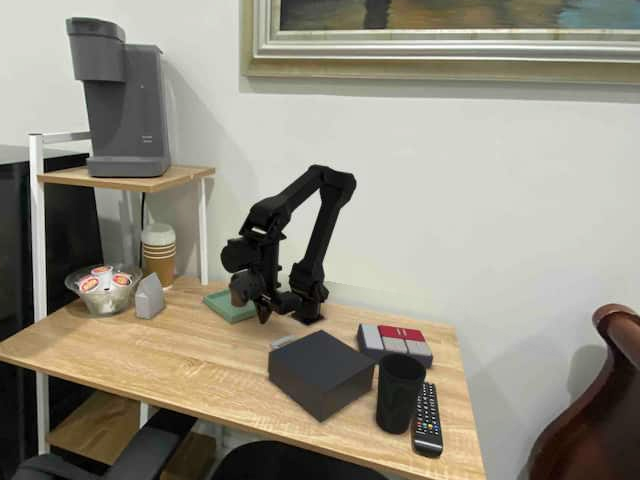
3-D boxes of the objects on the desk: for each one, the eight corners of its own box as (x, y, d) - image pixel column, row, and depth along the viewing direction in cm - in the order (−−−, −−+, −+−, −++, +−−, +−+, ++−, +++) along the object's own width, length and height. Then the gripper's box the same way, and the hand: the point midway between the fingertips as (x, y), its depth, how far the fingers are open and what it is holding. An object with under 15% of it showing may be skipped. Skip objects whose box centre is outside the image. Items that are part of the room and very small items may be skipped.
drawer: (255, 361, 83) (255, 342, 81) (300, 341, 91) (302, 323, 89) (314, 409, 70) (316, 388, 69) (360, 380, 79) (364, 360, 77)
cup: (364, 407, 73) (373, 353, 69) (404, 406, 74) (415, 352, 69) (377, 440, 66) (388, 381, 61) (421, 438, 66) (434, 381, 62)
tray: (244, 289, 117) (244, 283, 117) (274, 308, 107) (275, 301, 107) (203, 302, 108) (203, 295, 108) (231, 323, 98) (231, 316, 98)
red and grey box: (435, 355, 84) (365, 345, 84) (430, 371, 85) (361, 362, 86) (421, 328, 94) (359, 320, 94) (417, 343, 95) (356, 335, 96)
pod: (241, 298, 111) (241, 284, 109) (250, 304, 108) (250, 289, 106) (227, 302, 108) (227, 287, 106) (237, 309, 105) (237, 293, 103)
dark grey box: (268, 379, 79) (270, 352, 76) (319, 354, 88) (321, 329, 86) (320, 423, 69) (324, 392, 66) (371, 389, 78) (376, 361, 75)
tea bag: (163, 307, 104) (161, 273, 101) (149, 319, 98) (146, 283, 95) (151, 305, 105) (149, 270, 102) (136, 316, 99) (133, 280, 96)
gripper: (210, 255, 86) (211, 317, 92) (263, 285, 73) (261, 355, 79) (250, 246, 93) (249, 304, 99) (305, 272, 80) (300, 337, 86)
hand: (263, 323), depth 90 cm, fingers closed
